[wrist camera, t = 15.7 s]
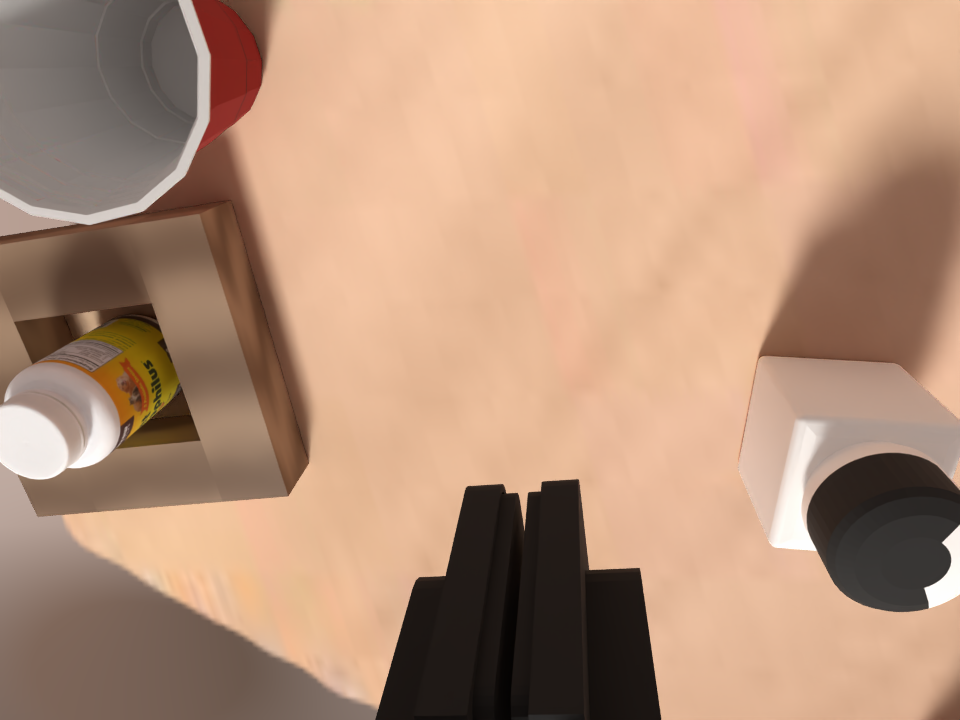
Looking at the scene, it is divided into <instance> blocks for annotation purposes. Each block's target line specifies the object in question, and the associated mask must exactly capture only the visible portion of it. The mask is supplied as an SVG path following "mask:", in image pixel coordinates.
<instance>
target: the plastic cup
mask: <svg viewBox="0 0 960 720" xmlns="http://www.w3.org/2000/svg"><path fill="white" fill-rule="evenodd" d="M261 72H262V60H261V57H260V54H259V51H258V48H257V45H256V42H255V39H254V36H253V35H252V33H251V32H250V31H249V29H248V28H247V27H246V25H245V24H244V23H243V21H242V20H241V19H240V17H239V16H238V15H237V14H236V12H235V11H234V10H232V9H231V8H229V7H228V6H226V5H225V4H223V3H222V2H220V1H218V0H0V198H1V199H2V200H4V201H6V202H8V203H9V204H11V205H13V206H15V207H17V208H19V209H20V210H22V211H24V212H26V213H27V214H29V215H31V216H38V217H44V218H50V219H57V220H62V221H68V222H74V223H80V224H86V225H92V224H96V223H100V222H104V221H107V220H111V219H115V218H119V217H123V216H127V215H131V214H135V213H139V212H143V211H144V210H146V209H147V208H148V207H149V206H150V205H151V204H153V203H154V202H155V201H156V200H157V199H158V198H160V197H161V196H162V195H163V194H164V193H166V192H167V191H168V190H169V189H170V188H171V187H173V186H174V185H175V184H176V183H177V182H179V181H180V180H181V179H182V178H183V177H184V176H185V175H186V173H187V172H188V169H189V167H190V165H191V162H192V160H193V158H194V156H195V153H196V152H198V151H199V150H200V149H202V148H203V147H205V146H206V145H208V144H209V143H210V142H212V141H213V140H215V139H216V138H217V137H218V136H219V135H220V134H221V133H222V132H224V131H225V130H226V129H227V128H229V127H230V126H232V125H233V124H234V123H236V122H237V121H238V120H239V119H240V118H241V117H242V116H244V115H245V114H246V113H247V112H248V111H249V110H250V109H251V106H252V105H253V103H254V101H255V98H256V96H257V94H258V91H259V89H260V87H261Z"/></svg>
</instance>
